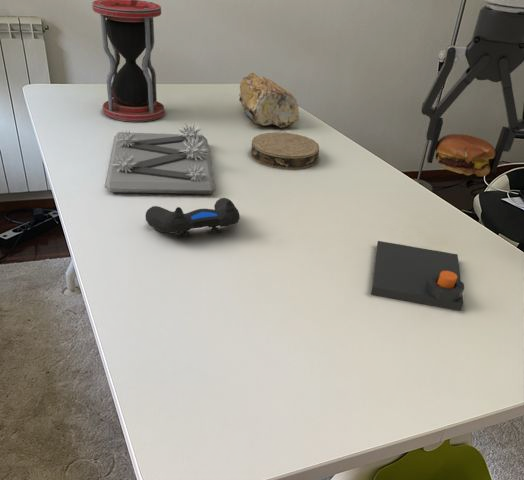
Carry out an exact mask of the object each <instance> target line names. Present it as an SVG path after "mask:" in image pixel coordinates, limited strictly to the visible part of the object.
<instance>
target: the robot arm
mask: <svg viewBox="0 0 524 480" xmlns="http://www.w3.org/2000/svg"><path fill="white" fill-rule="evenodd" d="M482 1H483V2H484V4H485V5H483V6H482V7H481V8H480V9H479V12H478V16H477V20H476V22H475V26H474V29H473V33H472V37H471V39H470V42H468V44H467V45H466V46H455V45H454V44H449V45H448V46H447V48H446V51H445V57H444V62H443V64H442V66H441V68H440V70H439V72H438V73H437V75H436V77H435V80H434V82H433V83H432V85H431V87H430V89H429V90H428V92H427V95H426V96H425V98H424V101H423V103H422V104H421V111H420V112H421V115H423V116H426V117H428V118H429V123H428V126H427V129H426V135H425V136H426V140H427V141H430V145H429V149H428V153H427V156H426V162H427V164H433V162H434V157H435V155H436V146H437V143H438V141H439V139H440V135H441V131H442V127H443V124H444V119H443V117H442V116H443V115H444V114H445V112H447V110H448V109H449V108H450V107H451V106H452V105H453V103H454V102H455V101H456V100H457V99H458V97H459V96H460V95H461V94H462V93H463V92H464V91H465V89H466V88H467V87H468V86H469V85H470V84H471V83H472V82H473V81H474V80H475V79H476V80H477V81H489V82H491V83H499V82H500V85H501V86H500V87H501V91H502V96H503V101H504V106H505V107H504V108H505V113H506V118H507V123H508V126H502V127H501V129H500V130H501V131H500V133H499V136H498V139H497V142H496V145H495V147H494V149H495V157H494V158H493V160H492V162H491V165H490V173H492V174H496V172H497V169H498V167H499V164H500V162H501V158H502V155H503V152H506V153H509V152H510V151H511V149H512V146H513V144H514V140H515V138H516V136H517V133H519V131H522V130H524V103H523V105H522V115H521V118H519V119H518V113H517V108H516V103H515V102H516V101H515V97H514V91H513V82H512V77H511V74H512V73H513V72H514V71H515V70H516V69H517V68H519V66H521V65H522V64H524V0H482ZM462 57H465V58H466V61H467V64H468V67H467V68H466V69H465V70H464V72H463V73H462V75H461V76H460V77H459V78H458V79H457V81H456V82H455V83H454V84H453V85H452V87H451V88H450V89H449V90H448V91H447V92H446V94H445V95H444V96H443V97H442V99H441V100H440V101H439V102H438V103H437V105H436V106H435V107H433V106H434V104H435V102H436V100H437V98H438V96H439V94H440V93H441V90H442V88H443V87H444V85H445V83H446V81H447V79H448V78H449V75H450V74H451V71H452V70H453V67H454V64H457V63H459V61H460V59H461V58H462Z"/></svg>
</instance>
